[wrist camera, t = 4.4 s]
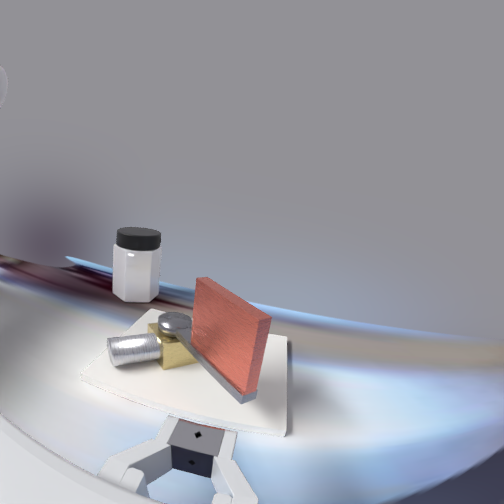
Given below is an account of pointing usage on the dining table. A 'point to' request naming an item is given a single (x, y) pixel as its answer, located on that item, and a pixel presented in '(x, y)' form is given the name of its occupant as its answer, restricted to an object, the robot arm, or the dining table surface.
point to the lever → (222, 337)
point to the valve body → (149, 349)
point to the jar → (136, 264)
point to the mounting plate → (198, 387)
